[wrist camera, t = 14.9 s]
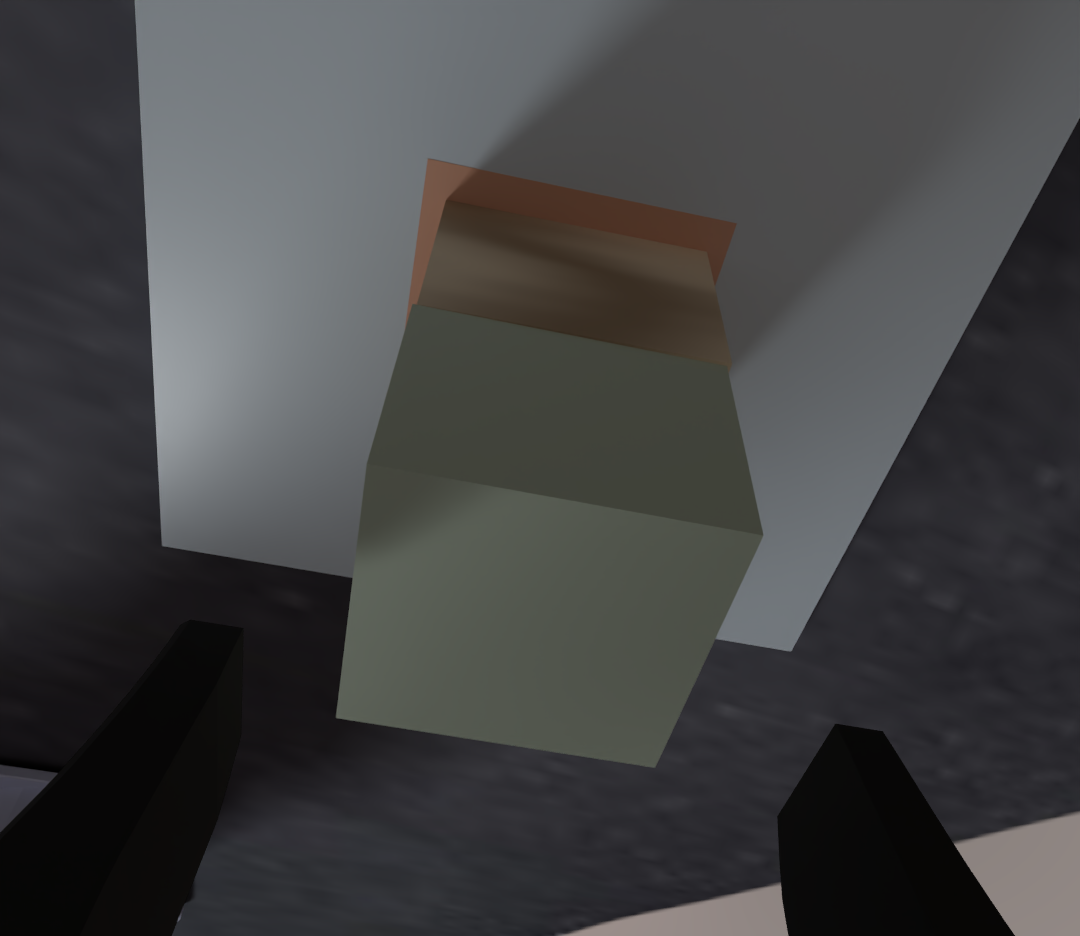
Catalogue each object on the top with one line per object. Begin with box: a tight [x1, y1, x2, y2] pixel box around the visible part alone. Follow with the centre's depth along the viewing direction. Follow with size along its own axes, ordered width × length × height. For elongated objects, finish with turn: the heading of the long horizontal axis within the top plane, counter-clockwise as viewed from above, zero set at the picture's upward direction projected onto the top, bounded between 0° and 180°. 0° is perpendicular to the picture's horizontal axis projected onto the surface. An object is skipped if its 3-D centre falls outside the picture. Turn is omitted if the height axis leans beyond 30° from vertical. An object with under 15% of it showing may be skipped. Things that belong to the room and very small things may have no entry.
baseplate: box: [135, 0, 1080, 651], centre depth 20 cm, size 16×16×1 cm
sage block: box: [336, 304, 764, 768], centre depth 15 cm, size 5×5×4 cm
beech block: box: [417, 200, 732, 373], centre depth 18 cm, size 5×5×4 cm
